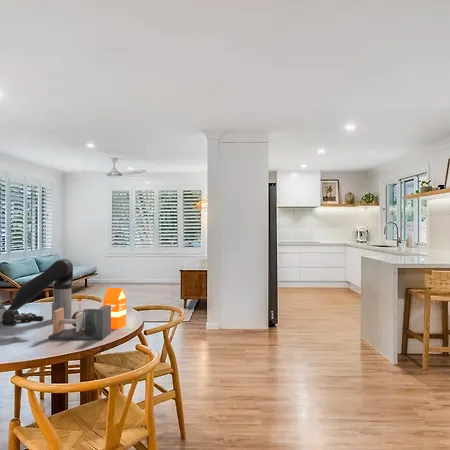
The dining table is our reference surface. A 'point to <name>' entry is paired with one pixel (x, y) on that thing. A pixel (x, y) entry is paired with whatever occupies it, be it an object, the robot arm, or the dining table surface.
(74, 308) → the dining table surface
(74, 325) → the tin
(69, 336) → the grey l-shaped bracket
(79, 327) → the pointer
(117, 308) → the orange juice
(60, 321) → the plunger
